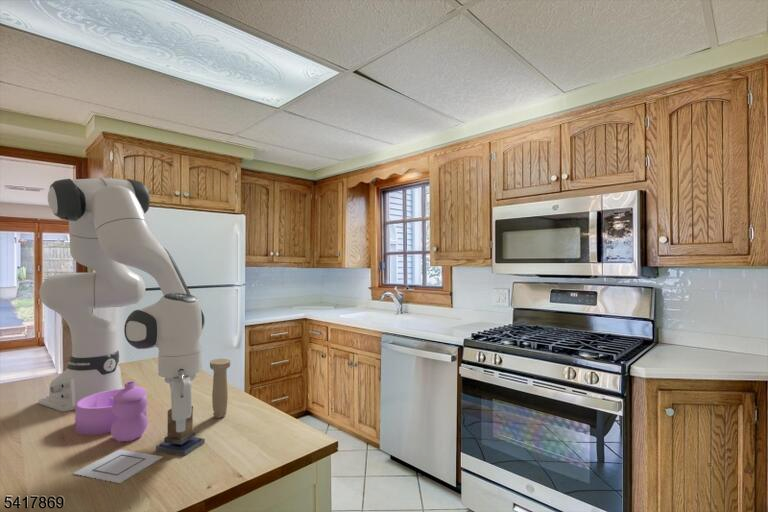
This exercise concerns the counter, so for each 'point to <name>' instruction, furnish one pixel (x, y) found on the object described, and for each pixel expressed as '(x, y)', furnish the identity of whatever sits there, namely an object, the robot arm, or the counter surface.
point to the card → (118, 466)
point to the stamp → (179, 436)
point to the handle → (219, 386)
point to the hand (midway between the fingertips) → (180, 425)
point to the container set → (113, 413)
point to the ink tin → (181, 446)
